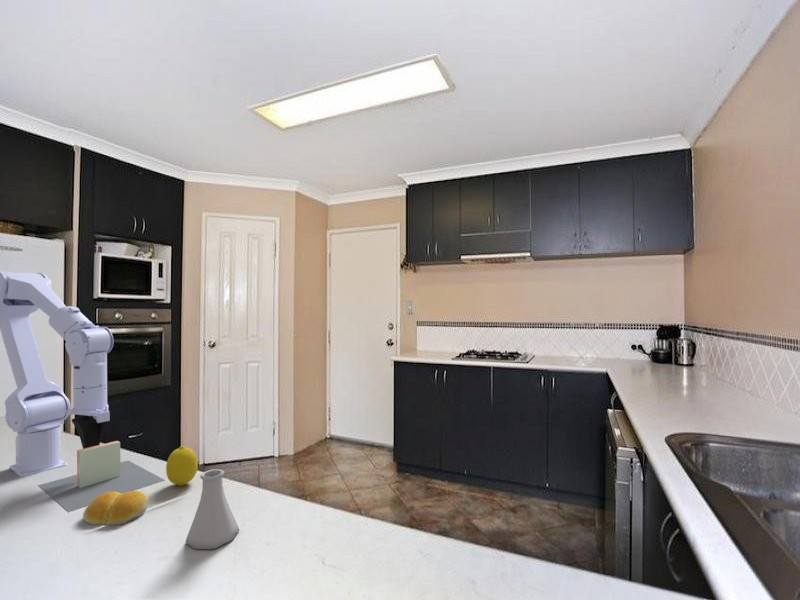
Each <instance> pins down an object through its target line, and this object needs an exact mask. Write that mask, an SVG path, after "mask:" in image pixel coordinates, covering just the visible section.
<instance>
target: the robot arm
mask: <svg viewBox="0 0 800 600" xmlns="http://www.w3.org/2000/svg"><path fill="white" fill-rule="evenodd" d="M52 286H53V284H52V279H50V278H49V277H48V276H47V275H46V274H45V273H42V272H17V271H16V272H14V271H1V270H0V334H1V337H2V340H3V344H4V349H5V350H6V354H7V358H8V361H9V364H10V367H11V370H12V375H13V378H14V380H15V385H16V389H14V390H13V392H12V393H11V394H9V395H8V397H7V398H6V399H5V400H4V406H5V415H4V416H5V422H6V425H7V426H8V427H9V429H11V430H12V432H15V433H16V434H17V435H16V436H15V464H11V465H10V466H9V469H10V470H12V472H14V473H16V475H18V477H20V478H24V477H27V476H28V477H29V476H31V475H36V474H38V473H39V474H40V473H43V472H46V471H51V470H54V469H55V470H56V469H58V468H63V467H66V466H68V463H67V462H65V461H64V460H63V459H62V458H61V457H62V456H61V455H62V454H61V453H62V451H61V446H62V445H61V425H63V424H65V420H66V419H68V417H69V416H70V415H71V416H72V415H78V416H79V417H75V418H72V419H71V423H72V424H73V425H74V427H75V428H76V431H77V433H78V436H79V439H80V443H81V446H82V449H85V448H89V447H93V446H97V445H101V441H102V437H103V433H104V430H105V428H106V426H107V424H108V423H109V422H110V415H111V414H110V410H109V404H108V357H107V356H108V354H109V353H110V352H111V351H112V349H113V347H114V343H115V342H114V341H115V339H114V336H113V333H112V332H111V331H110V329H109V328H108V327H106V326H99V325H95V324H94V323H93V322H92V321H90V320H89V318H88V317H86V315H84V314H83V313H82V312H81V310H80V308H79V307H77V306H71V305H70V306H69V305H67V306H66V304H65V303H63V301H62V300H61V299H60V298H59V296H58V295H57V294H56V293H55V292H54V291H53V288H52ZM38 310H41V311H42V312H43V313H45V315H47V316H48V317H49V318H48V324H49V326H50V327H51V328H52V329H53V330H54V331H55V332H56V333H57V334H58V335H59V336H60V337H61V338H62V339H63V340H64V341H65V343H64V346H65V350H66V352H67V354H68V357H69V363H70V365H71V366H72V372H73V373H72V374H73V375H72V380H73V381H72V386H73V388H72V389H73V390H72V395H73V397H72V399H73V400H72V406H71V402H70V399H69V398H68V397H67V396H66V394H65V393H64V390H63V388H62V386H61V385H59V384H57V383H54V382H52V381H49V380H48V377H47V374H46V371H45V367H44V364H43V362H42V358H41V355H40V352H39V347H38V344H37V342H36V338H35V335H34V332H33V328H32V325H31V322H30V319H29V316H30V314H33V313H35V312H36V311H38ZM71 407H73V408H71Z"/></svg>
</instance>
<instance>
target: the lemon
mask: <svg viewBox="0 0 800 600" xmlns="http://www.w3.org/2000/svg"><path fill="white" fill-rule="evenodd" d="M165 466H166V467H165V472H166V477H167V479H168V480H169V482H171V484H174V485H177V486H179V487H184V486H186V484H188V483H189V482H191V481H192V480H193V479H194V478H195V476H196V474H197V471H198V466H199V465H198V457H197V454H196V452H195V451H194V450H193V449H191V448H190V447H186V446H185V445H181V446H179V447H178V448H176V449H174V450H173V451H172V452H171V453H170V454H169V456H168V459H167V461H166V465H165Z"/></svg>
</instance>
